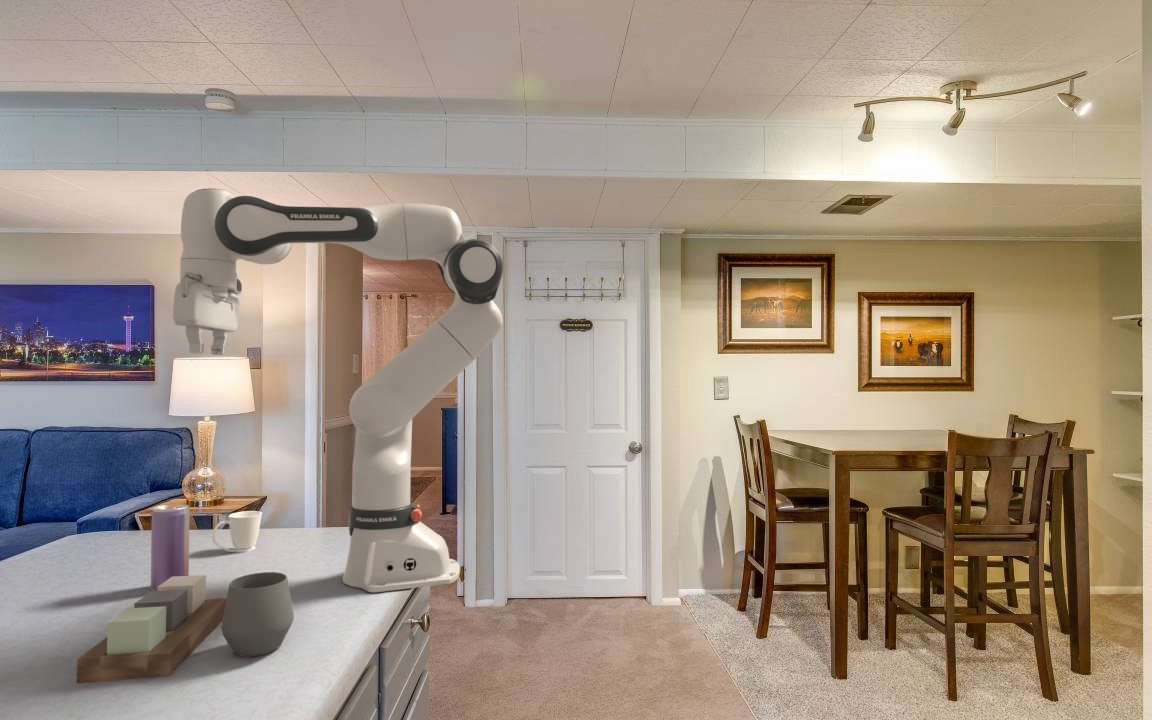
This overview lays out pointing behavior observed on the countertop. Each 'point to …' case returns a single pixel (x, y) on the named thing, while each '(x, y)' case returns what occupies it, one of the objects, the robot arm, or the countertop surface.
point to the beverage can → (169, 543)
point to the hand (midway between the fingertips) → (207, 354)
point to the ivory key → (188, 589)
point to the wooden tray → (158, 659)
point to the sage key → (136, 630)
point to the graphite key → (167, 605)
